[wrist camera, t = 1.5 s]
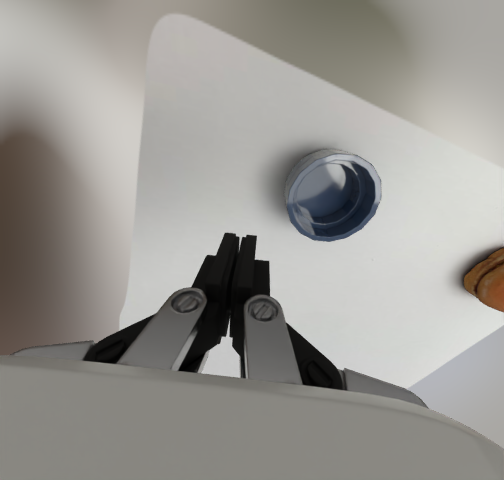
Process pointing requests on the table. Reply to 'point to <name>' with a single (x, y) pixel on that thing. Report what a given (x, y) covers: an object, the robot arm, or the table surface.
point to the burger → (488, 281)
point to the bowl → (332, 194)
